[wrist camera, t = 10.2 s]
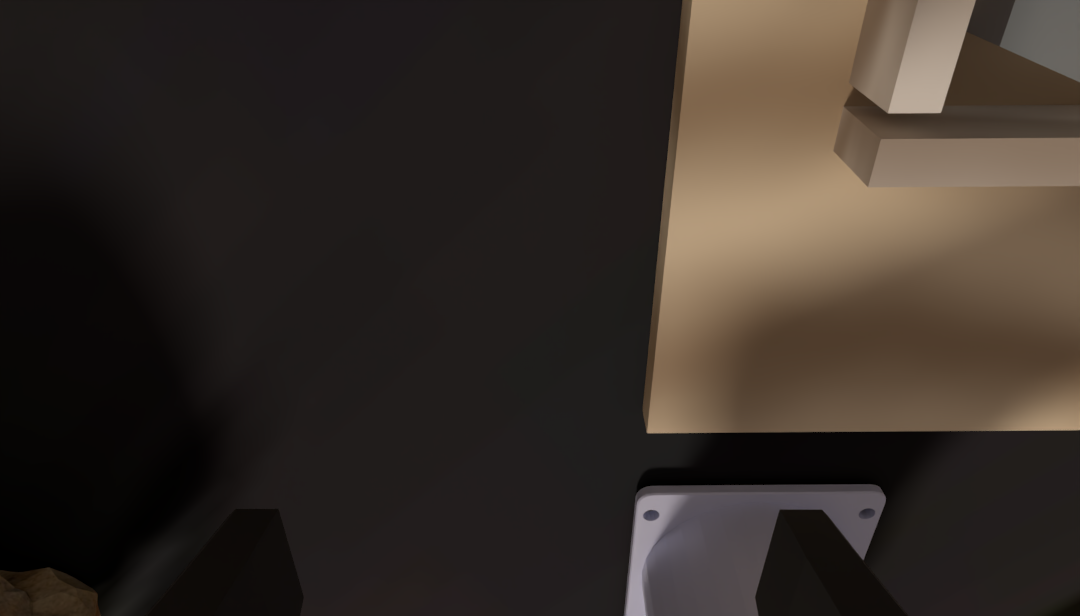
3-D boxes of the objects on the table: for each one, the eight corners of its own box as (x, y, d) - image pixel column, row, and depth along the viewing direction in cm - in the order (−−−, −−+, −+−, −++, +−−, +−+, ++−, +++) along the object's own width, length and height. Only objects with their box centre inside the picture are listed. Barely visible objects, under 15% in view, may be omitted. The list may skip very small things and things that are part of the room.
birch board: (1107, 406, 21) (1183, 481, 19) (642, 410, 21) (656, 485, 19) (1591, -439, 12) (1884, -516, 9) (724, -434, 11) (778, -510, 9)
